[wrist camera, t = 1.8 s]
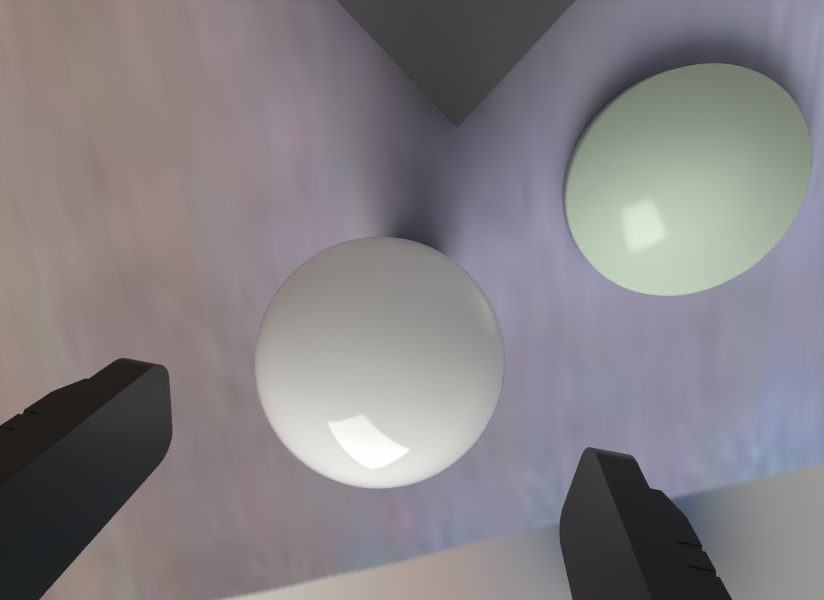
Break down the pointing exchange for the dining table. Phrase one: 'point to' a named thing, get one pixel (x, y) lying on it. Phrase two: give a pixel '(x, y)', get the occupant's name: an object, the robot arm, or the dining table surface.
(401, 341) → the lightbulb
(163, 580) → the dining table surface
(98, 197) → the dining table surface
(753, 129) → the pale green dome
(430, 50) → the lamp base pad
